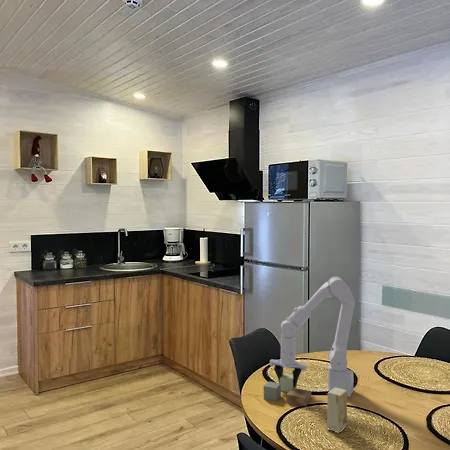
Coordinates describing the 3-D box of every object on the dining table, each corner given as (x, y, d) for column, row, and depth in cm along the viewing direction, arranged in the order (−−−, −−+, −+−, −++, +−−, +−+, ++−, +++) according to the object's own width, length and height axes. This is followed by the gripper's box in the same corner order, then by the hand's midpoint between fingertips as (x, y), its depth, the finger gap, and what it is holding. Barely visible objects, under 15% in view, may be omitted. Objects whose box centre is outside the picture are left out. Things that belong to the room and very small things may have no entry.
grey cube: (280, 396, 173) (280, 383, 173) (276, 401, 168) (276, 388, 168) (268, 394, 175) (268, 381, 175) (263, 399, 170) (263, 386, 170)
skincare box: (339, 434, 143) (339, 396, 143) (326, 430, 146) (326, 392, 146) (347, 426, 149) (347, 389, 148) (334, 422, 151) (335, 386, 151)
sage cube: (296, 388, 180) (296, 375, 180) (292, 392, 176) (292, 379, 176) (283, 386, 183) (283, 373, 182) (279, 390, 178) (279, 377, 178)
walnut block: (311, 400, 170) (311, 391, 169) (305, 407, 163) (305, 398, 163) (293, 396, 173) (293, 387, 173) (286, 403, 167) (286, 394, 167)
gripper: (267, 352, 178) (267, 386, 179) (303, 357, 172) (303, 392, 173) (273, 347, 185) (273, 380, 185) (308, 351, 178) (308, 385, 179)
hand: (288, 385), depth 179 cm, fingers closed on sage cube, 5 cm apart
